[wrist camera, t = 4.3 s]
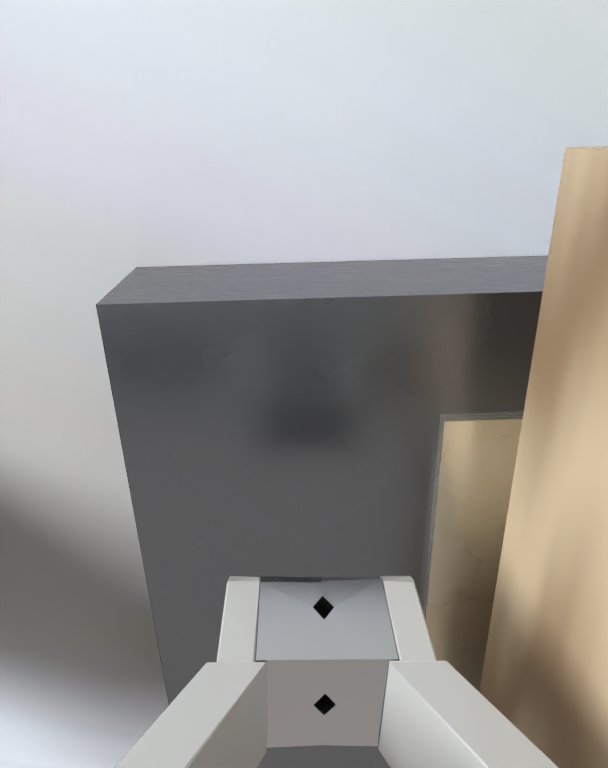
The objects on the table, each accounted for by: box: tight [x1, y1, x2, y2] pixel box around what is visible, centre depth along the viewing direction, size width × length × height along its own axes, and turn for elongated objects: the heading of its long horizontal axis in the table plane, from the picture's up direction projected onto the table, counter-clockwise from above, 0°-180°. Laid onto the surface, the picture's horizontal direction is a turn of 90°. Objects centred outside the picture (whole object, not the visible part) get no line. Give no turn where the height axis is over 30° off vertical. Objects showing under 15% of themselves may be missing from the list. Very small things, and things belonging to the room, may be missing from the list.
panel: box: [96, 256, 548, 768], centre depth 15 cm, size 20×18×4 cm
